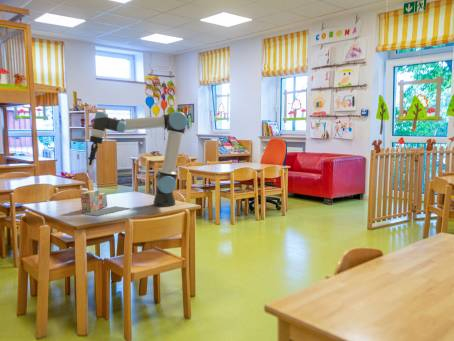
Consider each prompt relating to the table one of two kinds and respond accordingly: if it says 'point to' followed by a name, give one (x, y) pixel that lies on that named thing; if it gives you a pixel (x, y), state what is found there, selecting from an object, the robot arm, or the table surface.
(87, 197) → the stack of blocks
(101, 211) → the mat
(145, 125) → the robot arm
